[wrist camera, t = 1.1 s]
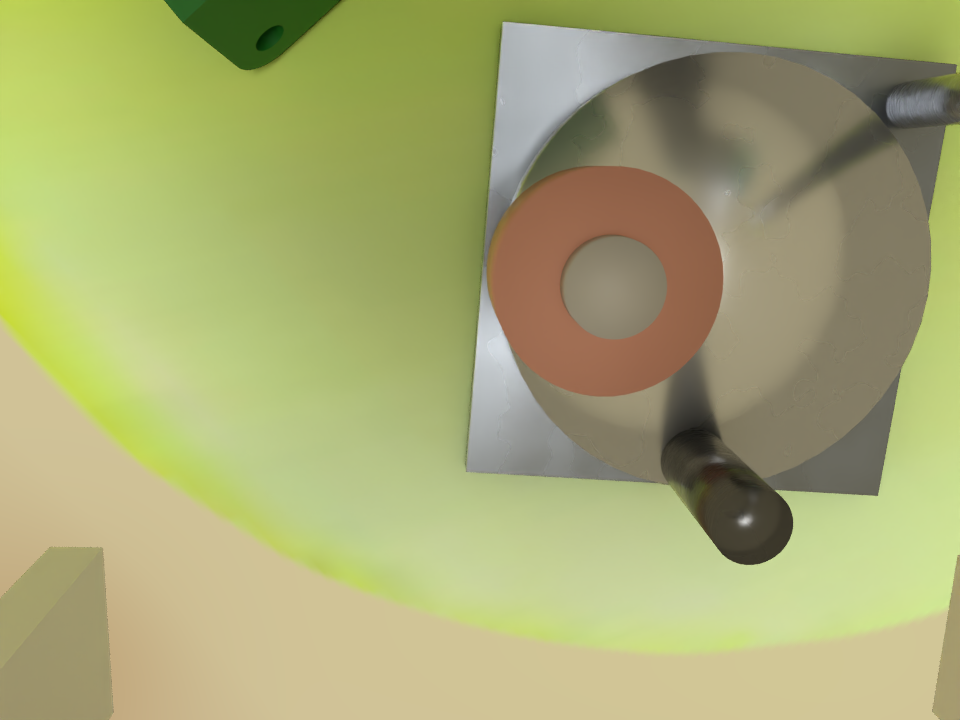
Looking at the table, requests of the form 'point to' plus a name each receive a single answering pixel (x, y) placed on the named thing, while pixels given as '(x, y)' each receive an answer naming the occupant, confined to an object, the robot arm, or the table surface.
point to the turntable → (756, 280)
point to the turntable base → (547, 104)
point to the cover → (605, 279)
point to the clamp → (250, 25)
